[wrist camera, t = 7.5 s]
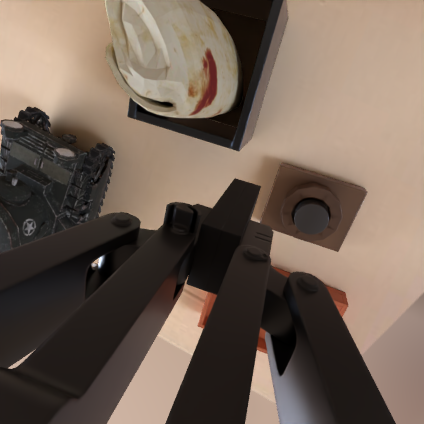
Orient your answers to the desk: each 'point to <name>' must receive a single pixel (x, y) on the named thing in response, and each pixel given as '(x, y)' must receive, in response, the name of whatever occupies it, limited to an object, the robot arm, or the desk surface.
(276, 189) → the block
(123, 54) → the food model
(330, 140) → the desk surface
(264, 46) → the black open box
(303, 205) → the button
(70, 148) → the toy tank
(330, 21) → the desk surface
